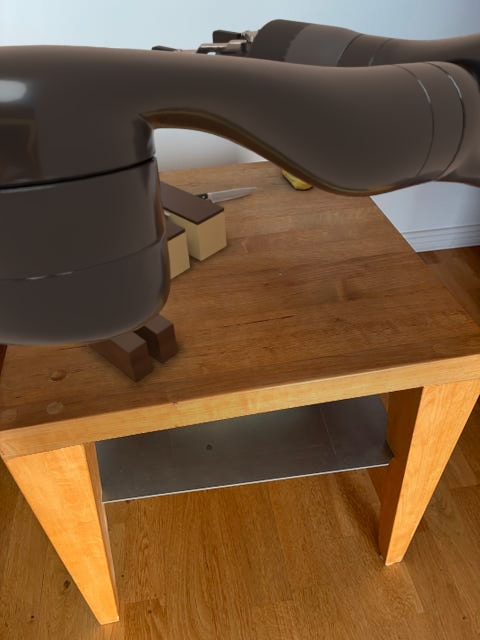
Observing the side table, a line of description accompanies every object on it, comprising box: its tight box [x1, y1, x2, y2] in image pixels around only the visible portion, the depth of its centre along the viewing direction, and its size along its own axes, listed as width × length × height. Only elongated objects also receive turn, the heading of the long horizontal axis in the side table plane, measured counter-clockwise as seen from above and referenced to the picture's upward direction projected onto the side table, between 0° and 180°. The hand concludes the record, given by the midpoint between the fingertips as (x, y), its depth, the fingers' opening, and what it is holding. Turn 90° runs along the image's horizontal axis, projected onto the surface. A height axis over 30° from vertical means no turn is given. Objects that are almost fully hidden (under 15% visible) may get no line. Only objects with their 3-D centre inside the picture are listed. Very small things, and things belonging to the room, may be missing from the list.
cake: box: [160, 180, 227, 280], centre depth 81 cm, size 16×14×7 cm
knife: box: [194, 187, 258, 204], centre depth 94 cm, size 15×1×2 cm, turn 105°
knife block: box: [88, 313, 179, 383], centre depth 63 cm, size 10×7×5 cm
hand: (186, 49), depth 52 cm, fingers open, 8 cm apart
